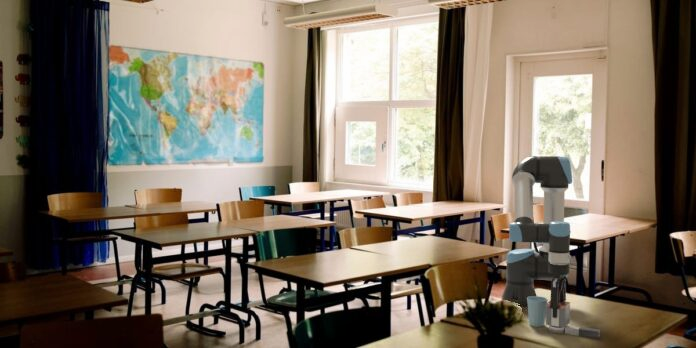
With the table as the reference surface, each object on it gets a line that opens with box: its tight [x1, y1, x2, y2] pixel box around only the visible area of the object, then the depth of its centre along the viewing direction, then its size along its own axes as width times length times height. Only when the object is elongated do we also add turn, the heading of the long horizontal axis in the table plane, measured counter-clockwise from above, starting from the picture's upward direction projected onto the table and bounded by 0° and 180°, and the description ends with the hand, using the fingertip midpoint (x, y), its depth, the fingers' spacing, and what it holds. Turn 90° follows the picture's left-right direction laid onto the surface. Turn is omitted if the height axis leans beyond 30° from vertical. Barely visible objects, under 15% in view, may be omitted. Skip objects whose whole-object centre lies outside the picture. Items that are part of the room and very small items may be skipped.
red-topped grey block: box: [545, 300, 571, 327], centre depth 256 cm, size 7×7×8 cm
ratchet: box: [548, 325, 601, 340], centre depth 253 cm, size 18×6×8 cm, turn 59°
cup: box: [527, 295, 548, 328], centre depth 265 cm, size 8×8×10 cm
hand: (557, 323), depth 256 cm, fingers open, 7 cm apart
